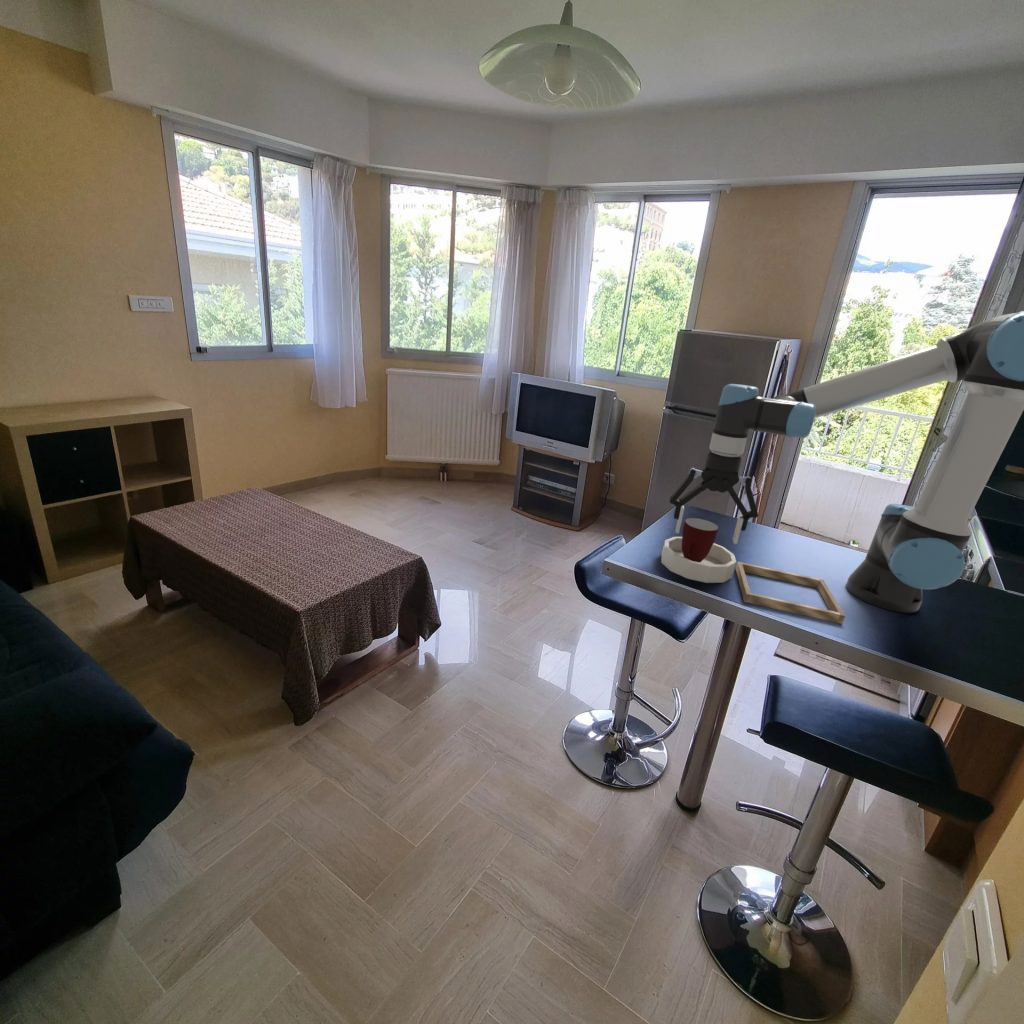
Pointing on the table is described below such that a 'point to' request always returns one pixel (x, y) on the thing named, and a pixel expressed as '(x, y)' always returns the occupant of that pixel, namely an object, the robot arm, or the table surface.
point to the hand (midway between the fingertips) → (705, 536)
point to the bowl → (709, 570)
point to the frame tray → (830, 615)
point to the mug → (698, 538)
